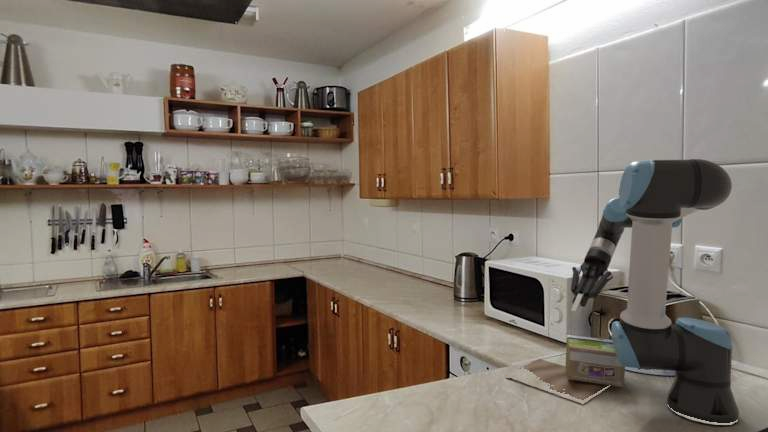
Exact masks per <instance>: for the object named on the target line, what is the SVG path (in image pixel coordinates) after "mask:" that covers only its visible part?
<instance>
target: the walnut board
mask: <svg viewBox="0 0 768 432" xmlns="http://www.w3.org/2000/svg"><path fill="white" fill-rule="evenodd" d="M523 366H524V369H527V370H529V371H530V372H533V374H535V375H536V376H537V377H540V379H539V380H543V382H546V383H549V384H550V388H549V389H552V390H556V391H557V392H560V393H563V392H565V393H564V394H569V395H570V396H572V397H575V398H577V399H581V400H584V399H586V398H588V397H589V396H591V395H593V394H595V393H597V392H598V391H600V390H602V389H603V388H605V387H607V386H609V385H604V384H597V383H590V382H583V381H576V380H569V379H568V376H567V370H566V365H563V364H558V363H555V362H551V361H548V360H546V359H541V358H538V359H536V360H534V361H533V362H532V361H531V362H530V363H528V364H525V365H523ZM519 369H521V367H519ZM537 377H536V378H537ZM551 385H554V386H551ZM548 386H549V385H548ZM563 389H565V390H563Z"/></svg>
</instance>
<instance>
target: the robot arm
mask: <svg viewBox="0 0 768 432" xmlns="http://www.w3.org/2000/svg"><path fill="white" fill-rule="evenodd" d="M732 183H733V182H732V179H731V177H730V175H729V173H728V172H727V171H726V170H725V169H724V167H722V166H720V165H719V164H717V163H715V162H713V161H710V160H707V159H701V158H698V159H697V158H690V159H646V160H645V159H644V160H636V161H633V162H631V163H629V164H628V165H627V166H626V168H625V169H624V171H623V173H622V176H621V179H620V183H619V188H618V196H619V197H614V198H611V199H610V200H608V201H607V203H606V204H605V206H604V209H603V210H602V215H601V218H600V219H601V220H600V221H599V225H598V227H597V230H596V232H595V234H594V237H593V239H592V242H591V243H590V245H589V248H588V250H587V252H586V255H585V257H584V260H583V263H581V265H580V266H579V267H576V266H573V267H572V268H571V269H572V279H571V284H570V291H571V293H572V295H573V299H572V307H571V309H570V311H571V313H572V315H573V316H575V317H579V316H580V313H581V312H582V309H583V307H586V306H587V303H588V301H589V300H590V299H596V298H597V297H598V295H599V294H600V293H601V292H602V290H603V289H604V287H606V285H607V284H608V282H609V281H611V280H612V279H613V278H614V276H613V274H612V272H611V271H609V269H608V268H609V266H610V264H611V261H612V259H613V257H614V254H615V252H616V249H617V246H618V244H619V242H620V240H621V238H622V235H623V233H624V231H625V229H626V228H629V229H631V238H630V239H631V241H630V242H631V243H630V253H629V254H630V257H629V268H628V269H629V273H628V287H627V304H626V309H624V310H623V311H621V312H620V315H619V321H618V320H615V321H613V322H612V324H611V327H610V329H611V330H610V332H611V338H612V339H611V340H613V345H614V350H615V353H616V356H617V358H618V360H619V362H620V363H621V364H622V365H623V366H625V368H630V369H631V368H632V369H638V370H641V369H642V370H654V371H655V370H656V371H659V370H660V371H669V372H670V371H675V373H674V379H673V381H672V384H671V387H670V389H669V391H668V393H667V396H666V405H667V404H668V405H669V407H670V408H672V409H673V410H674V411H676V412H679V413H681V414H684V415H687V416H690V417H694V418H697V419H701V420H705V421H709V422H717V423H730V422H734V421H736V420H737V419H738V418H739V416H740V412H739V408H738V405H737V402H736V400H735V396H734V394H733V391H732V387H731V386H732V385H731V380H732V357H733V356H732V354H733V349H734V348H733V341H732V334H731V332H730V331H729V330H728V329H727V328H725V327H723V326H722V325H719V324H717V323H713V322H710V321H706V320H703V319H698V318H692V317H678V318H676V321H675V324H673V323H672V319H671V318H670V317H668V316H667V314H666V310H667V309H666V307H667V297H668V296H667V294H668V283H669V271H670V260H671V259H670V258H671V256H670V255H671V245H672V234H673V233H672V232H673V228H678V227H679V226H680V225H681V224H682V220H683V218H685V217H687V216H690V215H691V214H694V213H696V212H698V211H706V210H707V211H708V210H711V209H713V208H716V207H718V206H720V205H722V204H723V203H724V202H725V201H727V199H728V198H729V197H730V194H731V193H732V188H733V187H732V185H733V184H732ZM581 273H582V275H581ZM580 275H581V278H580ZM739 419H740V418H739Z"/></svg>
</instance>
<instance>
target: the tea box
mask: <svg viewBox="0 0 768 432" xmlns="http://www.w3.org/2000/svg"><path fill="white" fill-rule="evenodd" d="M565 349H566V350H565V351H566V354H565V366H566V370H567V376H568V379H569V380H576V381H583V382H590V383H597V384H604V385H611V387H618V388H625V376H626V375H625V372H626V367H625V366H623V365H622V364H621V363H620V362H619V360H618V358H617V356H616V353H615V350H614V345H613V340H612V339H606V338H597V337H596V338H595V337H589V336H582V335H581V336H580V335H572V334H567V335H566V348H565Z"/></svg>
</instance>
